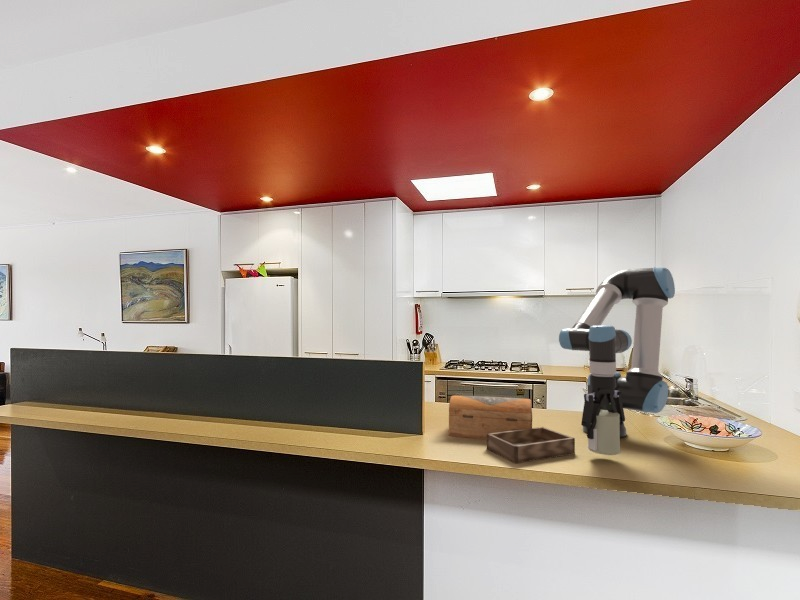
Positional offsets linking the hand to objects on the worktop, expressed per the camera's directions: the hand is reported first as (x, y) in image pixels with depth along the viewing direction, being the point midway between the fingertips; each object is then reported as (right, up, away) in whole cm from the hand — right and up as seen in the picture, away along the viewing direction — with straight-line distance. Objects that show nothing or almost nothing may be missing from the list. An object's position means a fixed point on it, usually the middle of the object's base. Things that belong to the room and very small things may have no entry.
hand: (604, 446), depth 134 cm
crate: (-21, -4, +8) cm, 23 cm away
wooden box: (-30, -5, +29) cm, 42 cm away
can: (0, -1, 0) cm, 1 cm away
